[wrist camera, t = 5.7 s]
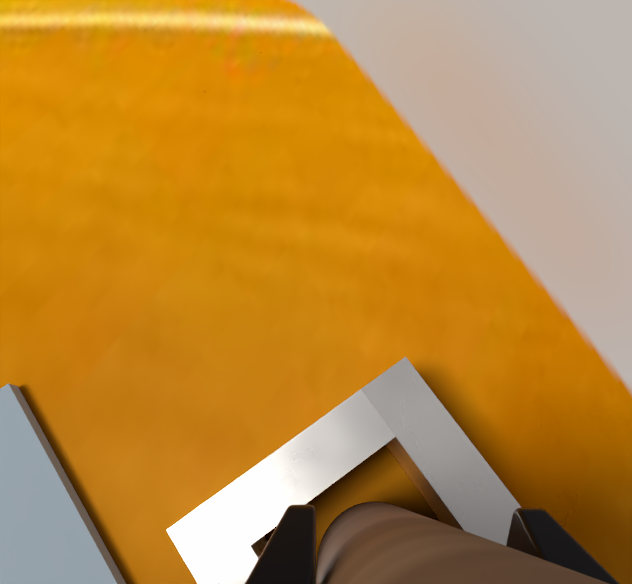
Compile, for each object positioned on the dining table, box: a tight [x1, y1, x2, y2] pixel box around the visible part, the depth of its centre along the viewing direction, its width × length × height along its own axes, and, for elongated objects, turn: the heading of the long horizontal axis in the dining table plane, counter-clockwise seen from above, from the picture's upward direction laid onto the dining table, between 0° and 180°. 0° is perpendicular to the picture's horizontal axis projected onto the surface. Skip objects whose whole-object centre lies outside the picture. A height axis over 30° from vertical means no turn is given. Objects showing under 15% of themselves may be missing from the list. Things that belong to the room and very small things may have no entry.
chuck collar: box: [167, 357, 522, 584], centre depth 15 cm, size 8×8×3 cm
